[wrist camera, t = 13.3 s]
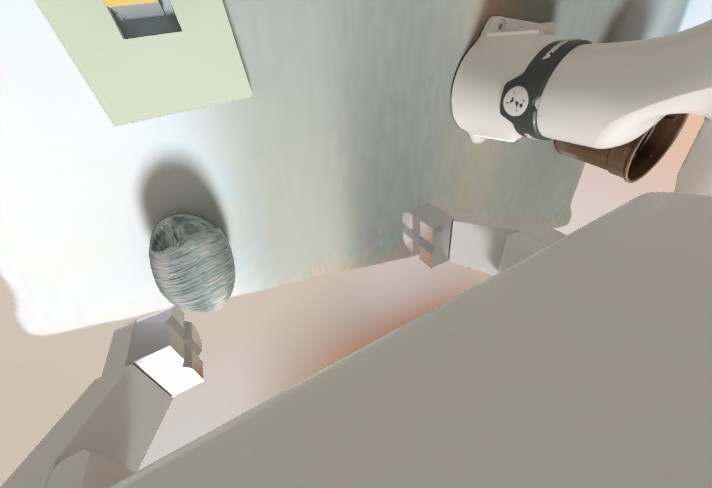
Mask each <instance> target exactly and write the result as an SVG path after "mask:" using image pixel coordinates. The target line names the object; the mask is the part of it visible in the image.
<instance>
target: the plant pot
mask: <svg viewBox="0 0 712 488" xmlns="http://www.w3.org/2000/svg"><path fill="white" fill-rule="evenodd" d="M688 115H689V113H679V114H668V115H666V116H665V117H663V118H662V119H661V120H660V121H659V122H658V123H657V124H655V125H654V126H653V127H652V128H650V129H649V130H648V131H646V132H645V133H644V134H642V135H641V136H639V137H638V138H636V139H635V140H633V141H631V142H629V143H626V144H624V145H621V146H617V147H613V148H607V149H596V148H592V147H587V146H583V145H578V144H573V143H569V142H564V141H560V140H555V148H556V149H557V150H558V152H559V153H562V154H565V155H567V156H570V157H573V158H576V159H578V160H581V161H584V162H587V163H589V164H592V165H595V166H598V167H600V168H603V169H606V170H608V171H609V172H610V173H612V174H614V175H617V176H620V177H622V178H624V179H625V181H626V182H629V183H633V182H636V181H638V180H639V179H641V178H642V177H643V176H645V175H646V174H647V173H648V172H649V171H650V170H651V169H652V168H653V167H654V166H655V165H656V164H657V163H658V162H659V161H660V160H661V158H662V157H663V156H664V155H665V153H666V152H667V151H668V149H669V148H670V147H671V145H672V144H673V142H674V140H675V139H676V138H677V136H678V134H679V133H680V131H681V129H682V128H683V126H684V124H685V122H686V120H687V118H688Z"/></svg>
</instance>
